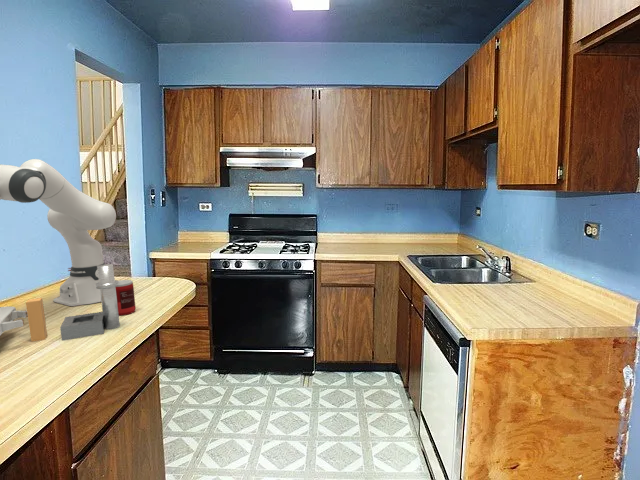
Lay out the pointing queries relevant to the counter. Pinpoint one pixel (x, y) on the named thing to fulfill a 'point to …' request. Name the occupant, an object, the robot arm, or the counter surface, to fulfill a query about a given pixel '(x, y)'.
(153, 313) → the counter surface
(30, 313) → the tall orange pillar block
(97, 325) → the grey socket with post
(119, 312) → the canned food
